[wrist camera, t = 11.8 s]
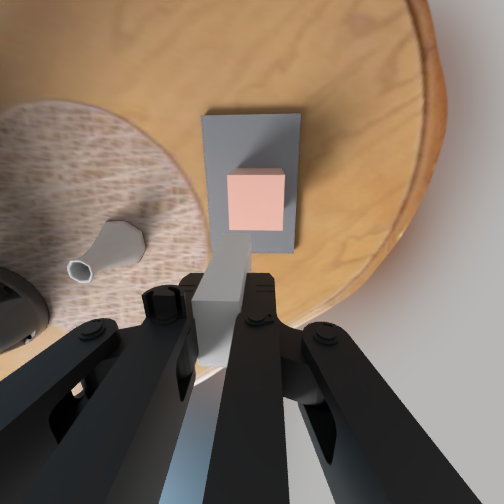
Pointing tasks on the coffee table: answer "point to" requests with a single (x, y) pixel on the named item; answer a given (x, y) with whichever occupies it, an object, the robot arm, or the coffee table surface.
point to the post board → (251, 156)
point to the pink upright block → (256, 199)
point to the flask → (109, 251)
